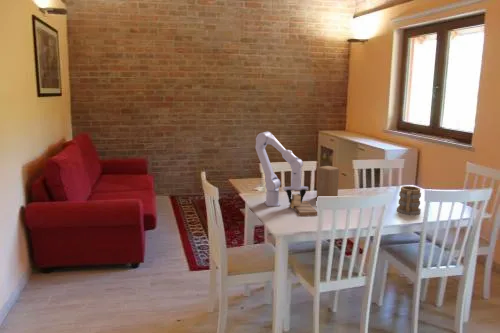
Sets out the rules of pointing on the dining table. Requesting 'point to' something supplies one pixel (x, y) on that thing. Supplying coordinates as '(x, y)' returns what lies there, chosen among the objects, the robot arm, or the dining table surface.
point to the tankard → (409, 200)
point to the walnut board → (305, 209)
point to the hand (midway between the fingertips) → (295, 202)
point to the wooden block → (327, 181)
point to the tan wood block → (295, 200)
